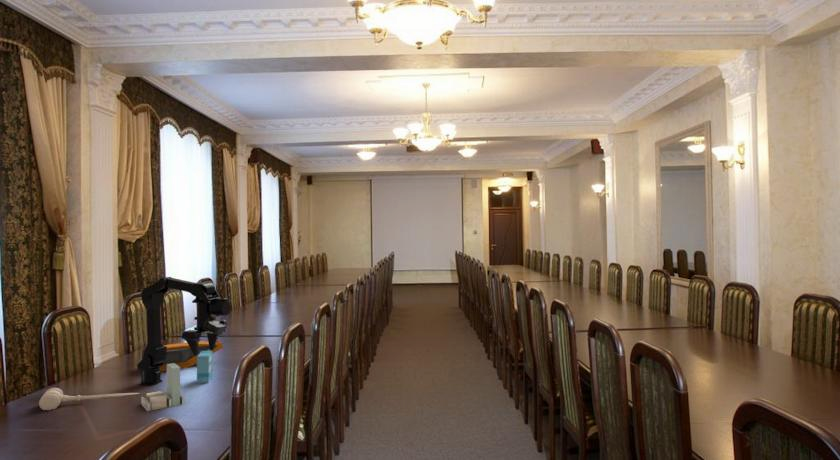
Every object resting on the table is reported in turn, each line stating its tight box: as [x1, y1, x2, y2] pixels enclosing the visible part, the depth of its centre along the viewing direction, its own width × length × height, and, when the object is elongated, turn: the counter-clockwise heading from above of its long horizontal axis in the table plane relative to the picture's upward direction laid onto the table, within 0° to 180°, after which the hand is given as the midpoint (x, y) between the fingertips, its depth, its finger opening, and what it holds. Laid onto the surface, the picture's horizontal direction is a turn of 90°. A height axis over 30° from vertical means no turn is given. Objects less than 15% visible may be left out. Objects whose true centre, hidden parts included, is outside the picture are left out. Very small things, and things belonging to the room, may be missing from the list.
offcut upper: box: [145, 390, 167, 404], centre depth 184 cm, size 8×5×2 cm, turn 39°
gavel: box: [38, 387, 140, 411], centre depth 191 cm, size 10×6×32 cm
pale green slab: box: [166, 363, 181, 406], centre depth 187 cm, size 8×2×13 cm, turn 39°
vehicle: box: [141, 339, 224, 372], centre depth 244 cm, size 14×34×10 cm, turn 124°
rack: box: [140, 392, 188, 412], centre depth 186 cm, size 10×13×4 cm
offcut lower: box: [150, 401, 167, 410], centre depth 184 cm, size 8×5×2 cm, turn 39°
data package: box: [196, 351, 214, 384], centre depth 217 cm, size 12×4×12 cm, turn 14°
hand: (203, 353), depth 208 cm, fingers open, 9 cm apart
